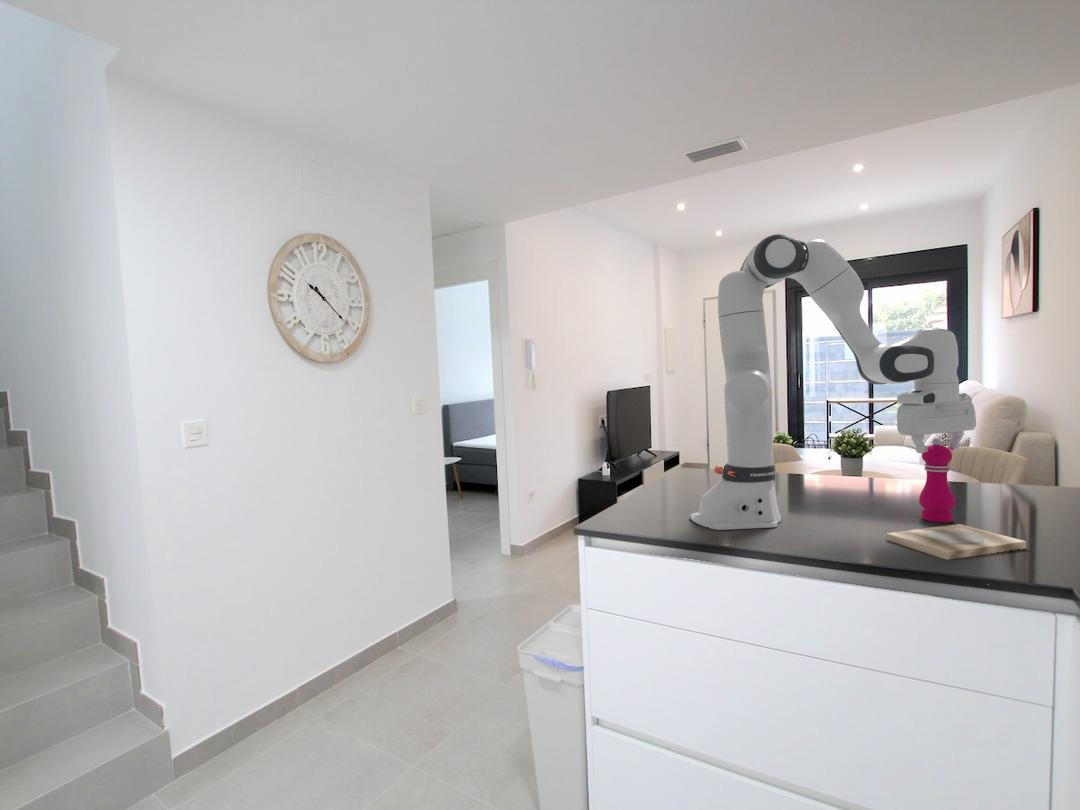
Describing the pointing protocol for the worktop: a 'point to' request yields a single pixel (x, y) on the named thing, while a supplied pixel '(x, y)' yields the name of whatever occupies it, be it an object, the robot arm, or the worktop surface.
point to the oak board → (955, 541)
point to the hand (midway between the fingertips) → (937, 451)
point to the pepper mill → (937, 485)
